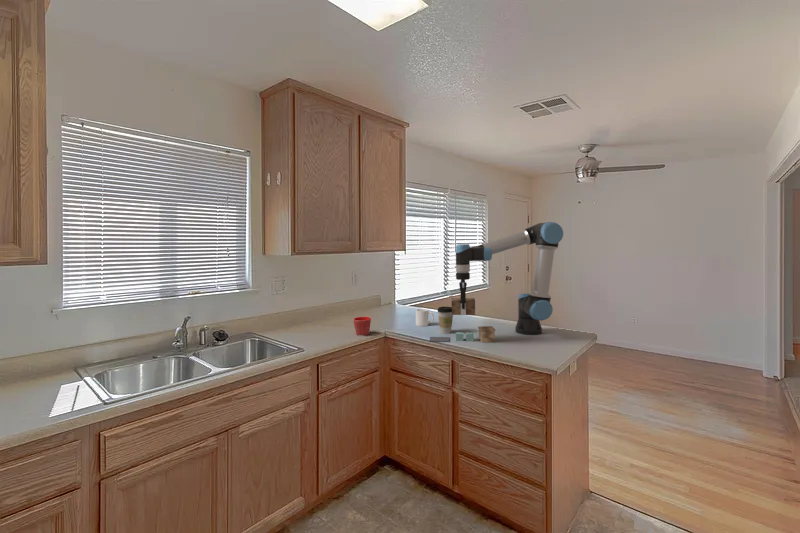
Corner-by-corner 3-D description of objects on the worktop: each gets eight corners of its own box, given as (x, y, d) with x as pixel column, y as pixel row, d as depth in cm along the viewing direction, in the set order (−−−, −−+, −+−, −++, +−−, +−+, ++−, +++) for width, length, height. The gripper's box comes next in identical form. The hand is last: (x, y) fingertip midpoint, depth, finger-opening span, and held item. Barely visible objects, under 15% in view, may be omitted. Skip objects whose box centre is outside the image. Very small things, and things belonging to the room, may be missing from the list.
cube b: (463, 339, 215) (463, 332, 215) (463, 341, 211) (463, 334, 211) (456, 339, 215) (455, 332, 215) (456, 341, 212) (455, 334, 211)
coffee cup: (453, 334, 225) (453, 309, 224) (436, 334, 227) (436, 309, 226) (454, 330, 235) (454, 306, 234) (438, 330, 237) (438, 306, 236)
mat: (449, 337, 218) (449, 337, 218) (449, 342, 210) (449, 341, 210) (430, 337, 220) (430, 336, 220) (429, 341, 211) (429, 341, 211)
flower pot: (354, 337, 225) (354, 320, 225) (353, 332, 236) (352, 317, 235) (372, 335, 227) (372, 319, 227) (370, 331, 238) (369, 316, 237)
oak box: (491, 338, 215) (491, 326, 214) (495, 342, 207) (495, 329, 207) (478, 338, 215) (478, 326, 214) (481, 342, 207) (481, 329, 207)
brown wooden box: (474, 312, 215) (474, 296, 214) (475, 315, 207) (475, 298, 206) (451, 312, 216) (451, 296, 216) (451, 314, 209) (451, 298, 208)
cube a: (473, 339, 214) (473, 332, 214) (473, 341, 210) (473, 334, 210) (466, 339, 215) (466, 332, 214) (466, 341, 211) (466, 334, 210)
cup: (417, 323, 257) (417, 308, 256) (435, 324, 253) (434, 309, 252) (414, 326, 249) (414, 311, 248) (432, 327, 245) (432, 311, 244)
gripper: (455, 270, 221) (456, 309, 222) (455, 274, 200) (456, 316, 202) (469, 270, 220) (469, 309, 221) (470, 273, 199) (470, 317, 201)
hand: (463, 313), depth 212 cm, fingers closed on brown wooden box, 8 cm apart
